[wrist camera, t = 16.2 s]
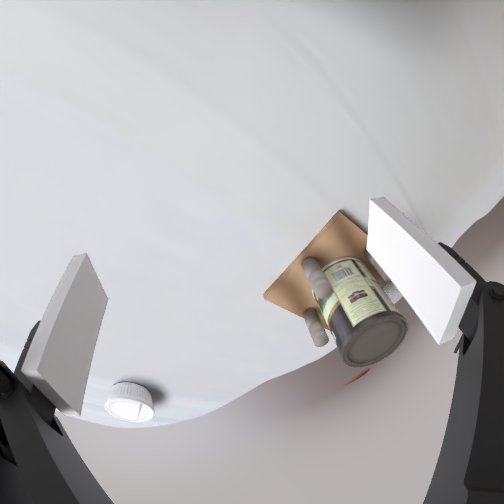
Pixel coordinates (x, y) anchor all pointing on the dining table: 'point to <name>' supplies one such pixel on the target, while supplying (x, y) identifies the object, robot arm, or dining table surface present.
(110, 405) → the ramekin
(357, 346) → the coffee can
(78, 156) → the dining table surface
